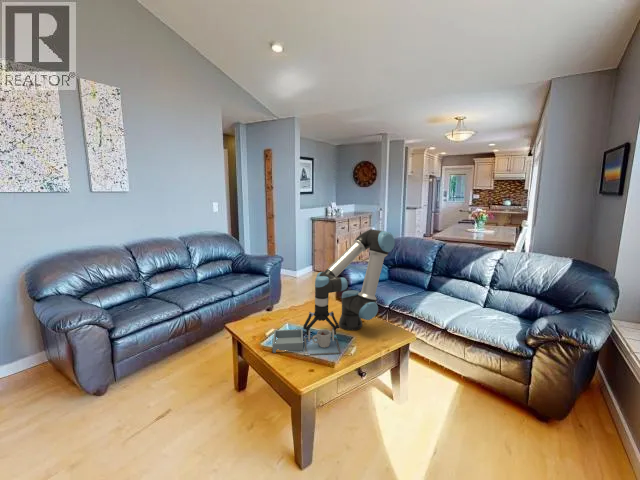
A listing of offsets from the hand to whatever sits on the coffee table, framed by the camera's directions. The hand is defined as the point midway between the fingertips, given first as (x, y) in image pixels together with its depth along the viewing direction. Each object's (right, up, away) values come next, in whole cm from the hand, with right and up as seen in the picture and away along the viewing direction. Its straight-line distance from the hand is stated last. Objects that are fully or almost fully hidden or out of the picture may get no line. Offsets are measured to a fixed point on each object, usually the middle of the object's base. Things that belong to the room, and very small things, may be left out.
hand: (321, 340), depth 175 cm
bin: (-19, -3, +2) cm, 19 cm away
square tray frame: (0, -3, +1) cm, 4 cm away
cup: (0, -4, +1) cm, 4 cm away
